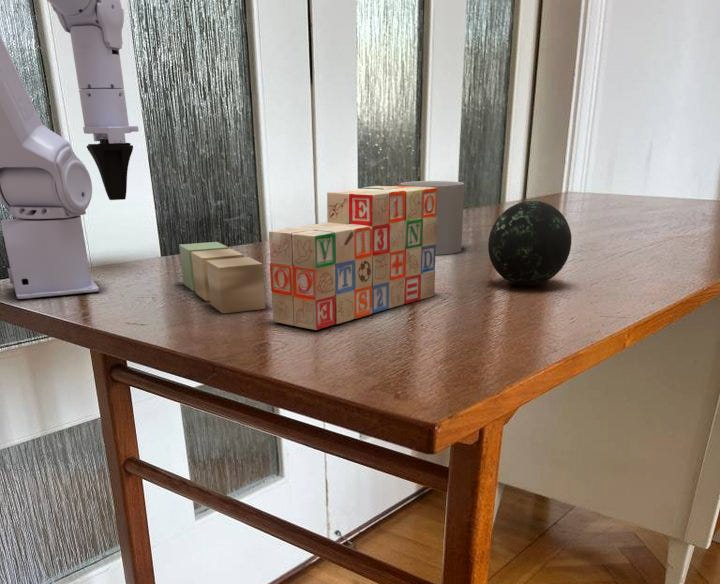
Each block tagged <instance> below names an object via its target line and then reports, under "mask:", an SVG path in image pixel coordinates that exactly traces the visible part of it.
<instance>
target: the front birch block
mask: <svg viewBox="0 0 720 584" xmlns="http://www.w3.org/2000/svg"><path fill="white" fill-rule="evenodd" d="M206 262H207V273H208V283H209V293H210V301H209V303H210V306H212V307H213V308H214V309H215V310H217V311H218V312H219V313H220V314H223V315H224V314H225V315H226V314H232V313H242V312H251V311H258V310H266V295H265V294H266V293H265V282H264V281H265V280H264V279H265V278H264V265H263V263H262V262H260V261H258V260H256V259H254V258H252V257H250V256H244V257H242V258H230V259H219V260H207V261H206Z"/></svg>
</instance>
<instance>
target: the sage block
mask: <svg viewBox="0 0 720 584" xmlns="http://www.w3.org/2000/svg"><path fill="white" fill-rule="evenodd" d="M178 246H179V247H178V248H179V257H180V265H181V271H182V272H181V274H182V283H183V286H185V287H186V288H188V289H189V290H190V291H192V292H195V283H194V274H193V264H192V255H191V252H195V251H208V250H220V249H229V247H228V246H227V245H225V244H223V243H220V242H219V241H209V242H195V243H184V244H183V243H182V244H181V243H180V244H178Z"/></svg>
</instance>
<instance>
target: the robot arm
mask: <svg viewBox="0 0 720 584" xmlns="http://www.w3.org/2000/svg"><path fill="white" fill-rule="evenodd" d="M46 1H47V2H48V3H49V4H50V6H51V7H52V10H53V12H55V14H56V15H57V18H58V22H59V23H60V26H61V27H62V29H63V30H64V31H65V32H66V33H68V34H70V35H69V36H70V41H71V47H72V53H73V60H74V66H75V74H76V80H77V86H78V93H79V99H80V100H79V101H80V106H81V113H82V119H83V127H82V129H83V133H84V134H86V135H87V134H88V135H90V134H91V135H92V137H93V141H94V142H99V143H88V144H87V145H86V149H87V150H88V152H89V154H90V155H91V157H92V159H93V161H94V162H95V165H96V166H97V170H98V172H99V175H100V178H101V181H102V185H103V187H104V190H105V193H106V195H107V197H108V200H110V201H121V200H126V198H127V190H128V189H127V187H128V171H129V164H130V159H131V157H132V154H133V150H134V144H133V145H132V144H131V143H130V142H127V141H126V134H131V133H135V132H140V130H139V126H138V125H130V123H129V115H128V109H127V101H126V92H125V86H124V77H123V71H122V61H121V54H120V50H121V49H122V48H123V43H124V42H123V35H122V34H123V28H124V22H125V14H124V13H125V11H124V8H123V7H122V2H121V0H46ZM92 196H93V182H92V178H91V175H90V172H89V170H88V169H87V167H86V165H85V164H84V162H83V161H82V160H81V159H80V158H79V157H78V156H77V155H76V153H75V151H74V150H73V147H72V145H71V143H70V142H69V141H68V140H67V139H65V138H64V137H63V136H61V135H59V134H58V133H56V132H54V131H53V130H51V129H49V128H48V127H47V126H45V125H44V124H43V123H42V120H41V118H40V117H39V114H38V111H37V110H36V108H35V106H34V103H33V102H32V99H31V97H30V95H29V92H28V91H27V89H26V87H25V84H24V82H23V80H22V78H21V76H20V74H19V72H18V69H17V67H16V66H15V64H14V61H13V59H12V56H11V55H10V53H9V51H8V48H7V47H6V45H5V42H4V41H3V38H2V36H1V35H0V202H1V203H2V205H3V206H4V207H5V208H6V209H8V210H9V211H10V215H11V219H2V220H0V225H1V230H2V235H3V240H4V245H5V249H6V255H7V260H8V264H9V268H7V274H8V278H9V282H10V284H11V285H12V284H13V290H14V292H15V295H16V299H19V300H24V299H37V298H44V297H45V298H46V297H55V296H66V295H76V294H77V295H78V294H86V293H96V292H99V291H100V287H99V286H98V285H97V283H96V282H95V281H94V280H93V279H92V277H91V276H92V275H91V271H90V264H89V258H88V251H87V246H86V239H85V233H84V228H83V221H82V216H84V215H86V214H87V212H86V210H87V209H88V207H89V206H90V204H91V200H92V198H93V197H92ZM12 218H13V219H12Z"/></svg>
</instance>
